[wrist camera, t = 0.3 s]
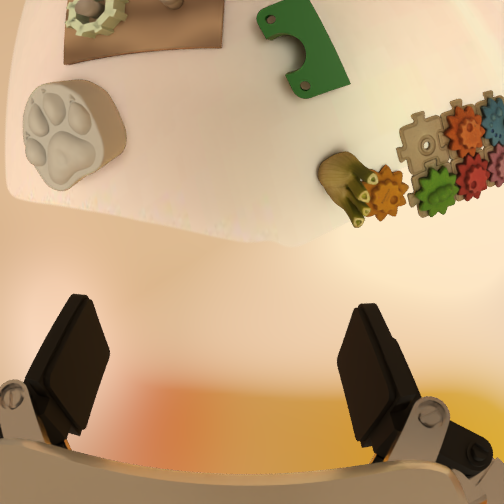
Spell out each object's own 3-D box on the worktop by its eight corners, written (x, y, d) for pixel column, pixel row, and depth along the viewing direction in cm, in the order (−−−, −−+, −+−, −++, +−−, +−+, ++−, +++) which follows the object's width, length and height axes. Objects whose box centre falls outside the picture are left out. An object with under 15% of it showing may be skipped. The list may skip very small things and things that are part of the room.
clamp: (272, 33, 33) (246, 2, 24) (314, 16, 30) (297, -19, 22) (306, 110, 34) (288, 92, 26) (352, 94, 32) (347, 71, 24)
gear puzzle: (367, 241, 45) (376, 255, 41) (333, 140, 37) (342, 147, 33) (512, 175, 38) (526, 184, 35) (499, 86, 31) (516, 89, 27)
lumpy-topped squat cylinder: (77, 180, 38) (46, 205, 30) (39, 105, 32) (0, 116, 24) (135, 145, 36) (109, 163, 29) (94, 62, 30) (59, 61, 22)
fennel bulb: (336, 141, 36) (371, 167, 26) (362, 165, 38) (402, 199, 28) (307, 174, 39) (330, 212, 28) (333, 197, 40) (363, 240, 30)
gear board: (75, -14, 23) (48, -25, 17) (227, -37, 24) (223, -59, 18) (69, 64, 29) (39, 65, 23) (221, 48, 30) (216, 40, 24)
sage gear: (81, -4, 23) (68, -9, 20) (130, -15, 24) (120, -23, 20) (78, 42, 27) (63, 40, 24) (126, 32, 27) (115, 29, 24)
